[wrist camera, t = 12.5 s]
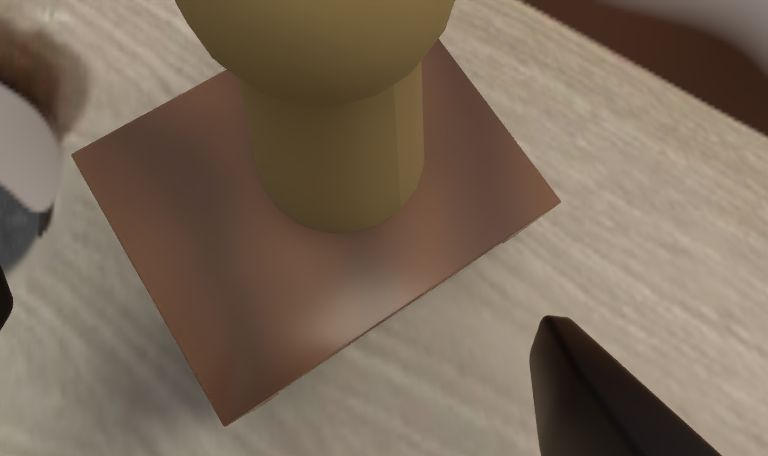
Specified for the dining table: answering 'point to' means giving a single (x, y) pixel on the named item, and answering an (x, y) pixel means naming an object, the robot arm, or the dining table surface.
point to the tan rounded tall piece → (328, 98)
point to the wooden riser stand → (297, 232)
